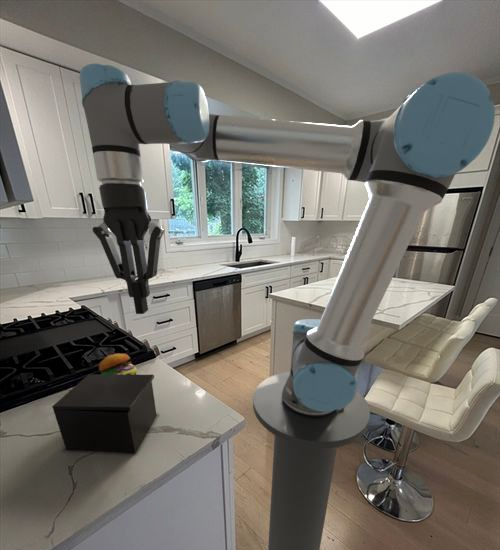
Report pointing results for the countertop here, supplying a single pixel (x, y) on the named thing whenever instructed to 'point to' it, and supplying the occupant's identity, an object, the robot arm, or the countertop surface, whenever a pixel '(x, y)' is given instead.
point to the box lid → (105, 392)
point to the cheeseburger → (117, 365)
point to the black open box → (108, 426)
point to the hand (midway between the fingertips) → (142, 311)
